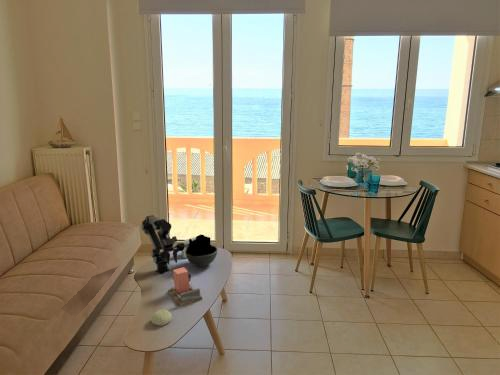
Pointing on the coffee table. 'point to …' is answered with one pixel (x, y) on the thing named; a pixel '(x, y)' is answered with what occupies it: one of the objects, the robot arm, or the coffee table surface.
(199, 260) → the bowl of black rocks
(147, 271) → the coffee table surface
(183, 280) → the salmon pink rectangular block
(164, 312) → the sea urchin shell
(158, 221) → the robot arm
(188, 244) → the digital clock
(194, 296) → the base
